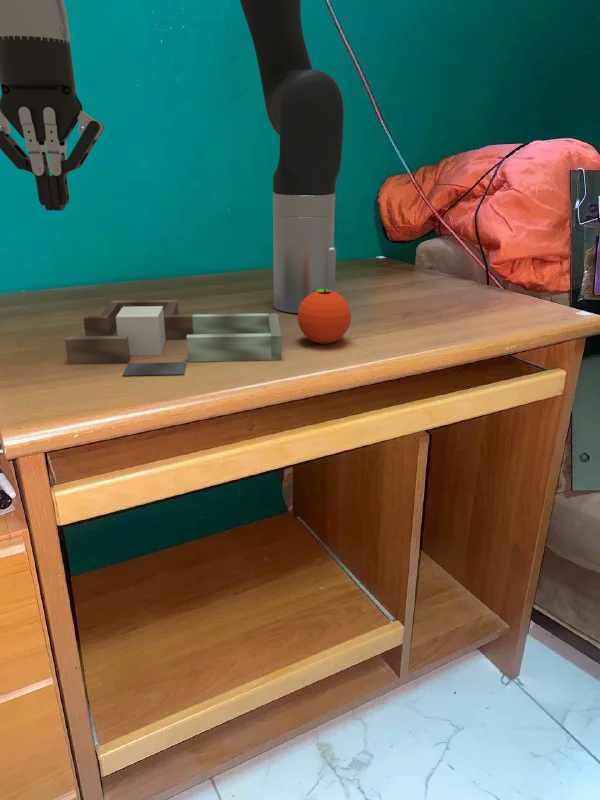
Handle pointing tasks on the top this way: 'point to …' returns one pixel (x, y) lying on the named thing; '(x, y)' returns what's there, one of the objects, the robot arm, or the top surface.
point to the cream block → (142, 329)
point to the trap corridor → (203, 333)
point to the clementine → (324, 316)
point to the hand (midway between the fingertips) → (55, 209)
